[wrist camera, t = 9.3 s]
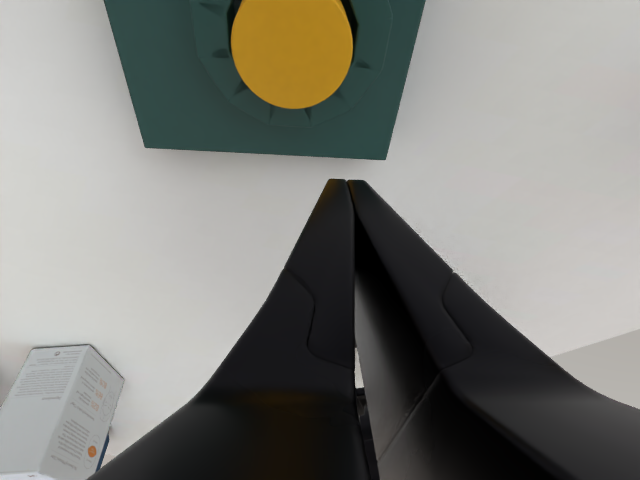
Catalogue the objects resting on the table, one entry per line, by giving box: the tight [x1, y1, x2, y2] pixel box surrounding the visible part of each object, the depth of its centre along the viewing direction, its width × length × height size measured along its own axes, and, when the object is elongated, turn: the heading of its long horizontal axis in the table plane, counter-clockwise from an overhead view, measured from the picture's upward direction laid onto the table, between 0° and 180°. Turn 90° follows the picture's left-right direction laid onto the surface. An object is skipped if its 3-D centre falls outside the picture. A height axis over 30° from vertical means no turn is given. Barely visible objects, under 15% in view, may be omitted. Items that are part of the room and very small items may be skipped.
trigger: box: [231, 0, 353, 109], centre depth 13 cm, size 4×4×2 cm
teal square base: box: [104, 0, 425, 160], centre depth 15 cm, size 10×12×4 cm
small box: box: [0, 345, 124, 480], centre depth 34 cm, size 8×6×10 cm
